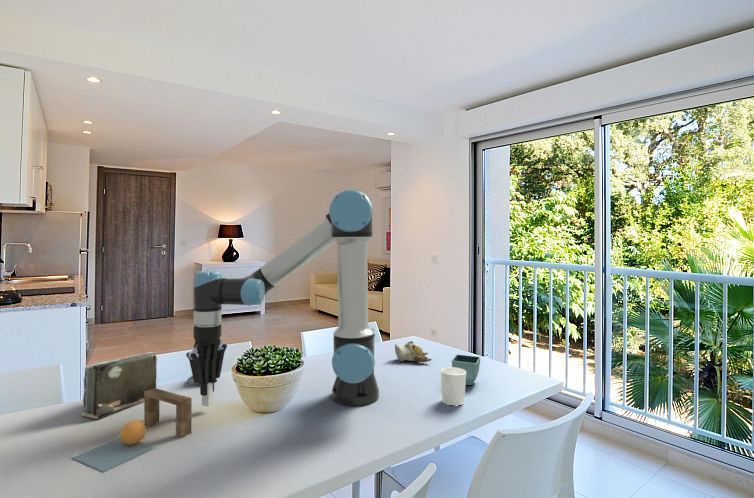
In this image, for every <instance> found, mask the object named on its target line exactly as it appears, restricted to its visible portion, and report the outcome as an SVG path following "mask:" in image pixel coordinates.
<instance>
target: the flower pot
mask: <svg viewBox="0 0 754 498" xmlns="http://www.w3.org/2000/svg"><path fill="white" fill-rule="evenodd" d="M480 364H481V357H480V356H476V355H475V356H473V355H465V354H455V356H454V357H452V359H451V367H456V368H461V369H464V370H465V371H466V385H472V386H473V385H474V384H475V382H474V381H476V379H477V377H478V375H479V371H480ZM466 385H465V386H466Z"/></svg>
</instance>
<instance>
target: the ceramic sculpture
mask: <svg viewBox="0 0 754 498" xmlns="http://www.w3.org/2000/svg"><path fill="white" fill-rule="evenodd" d="M394 353H395V355H396V358H397V361H398V362H400V361H402V362H403V361H408V362H411V361H417V362H418V363H427V362H430V361H432V358H428V357H427V355H428V354H429V353H428V352H424V351H423V348H422V346H420V344H417V343H414V342H413V341H412V340H411V341H408V342H406V344H405V345H400V344H397V343H395V344H394Z"/></svg>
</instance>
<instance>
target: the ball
mask: <svg viewBox="0 0 754 498" xmlns="http://www.w3.org/2000/svg"><path fill="white" fill-rule="evenodd" d="M146 427H147V426H145V425H144V422H142V421H141V420H130V421H129V422H127V423H126V424H124V426H122V428H121V430H120V432H119V437H120V438H121V440H122V442H123V443H125V444H127V445H134V444H137V443H139V442H142V440H143V439H144V438H145V437H146V436H145V435H146V433H147V428H146Z"/></svg>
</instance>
